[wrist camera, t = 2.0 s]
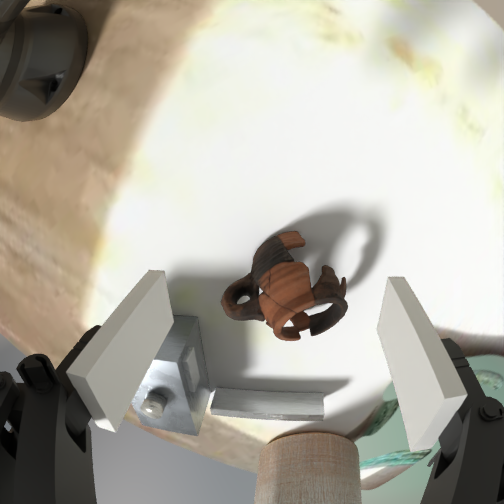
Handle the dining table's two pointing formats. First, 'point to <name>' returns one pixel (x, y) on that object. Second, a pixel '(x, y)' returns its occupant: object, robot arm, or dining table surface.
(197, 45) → the dining table surface
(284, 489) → the planter
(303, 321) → the brown curved piece
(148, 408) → the motor bracket
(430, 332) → the robot arm
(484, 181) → the dining table surface
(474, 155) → the dining table surface
